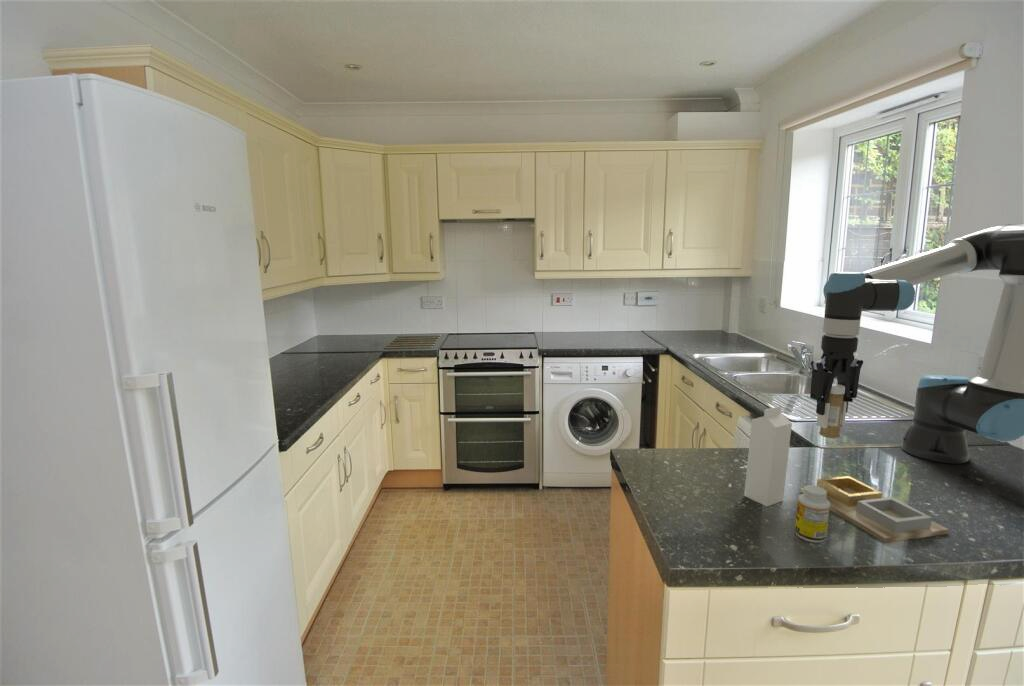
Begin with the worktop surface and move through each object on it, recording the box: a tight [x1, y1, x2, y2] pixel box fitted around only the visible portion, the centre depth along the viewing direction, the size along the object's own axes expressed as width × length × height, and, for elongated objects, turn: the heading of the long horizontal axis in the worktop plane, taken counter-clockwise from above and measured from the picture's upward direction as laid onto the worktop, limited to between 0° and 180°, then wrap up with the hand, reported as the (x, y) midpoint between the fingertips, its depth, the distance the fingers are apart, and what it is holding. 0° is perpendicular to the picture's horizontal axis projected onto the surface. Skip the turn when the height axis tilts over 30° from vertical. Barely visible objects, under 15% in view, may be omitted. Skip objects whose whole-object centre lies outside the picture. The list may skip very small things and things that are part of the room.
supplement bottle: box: [794, 484, 831, 544], centre depth 102 cm, size 6×6×10 cm
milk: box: [743, 405, 793, 507], centre depth 117 cm, size 6×6×22 cm
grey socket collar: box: [856, 496, 933, 533], centre depth 108 cm, size 9×9×2 cm
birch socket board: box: [799, 487, 950, 543], centre depth 113 cm, size 16×22×1 cm
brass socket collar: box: [816, 475, 884, 507], centre depth 118 cm, size 9×9×2 cm
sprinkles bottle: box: [818, 382, 845, 439], centre depth 129 cm, size 5×5×13 cm
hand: (830, 425), depth 130 cm, fingers closed on sprinkles bottle, 4 cm apart
